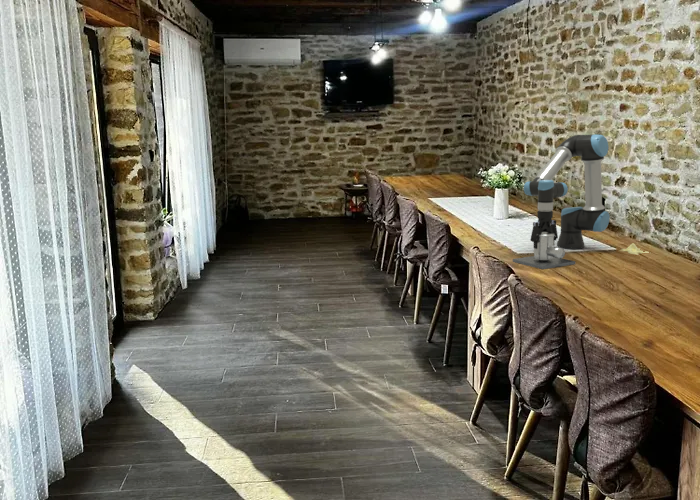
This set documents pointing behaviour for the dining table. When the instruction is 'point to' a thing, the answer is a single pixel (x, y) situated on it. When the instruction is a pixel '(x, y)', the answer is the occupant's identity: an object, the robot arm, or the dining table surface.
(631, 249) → the cloth
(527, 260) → the grey metal plate
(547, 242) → the grey metal fitting
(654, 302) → the dining table surface
